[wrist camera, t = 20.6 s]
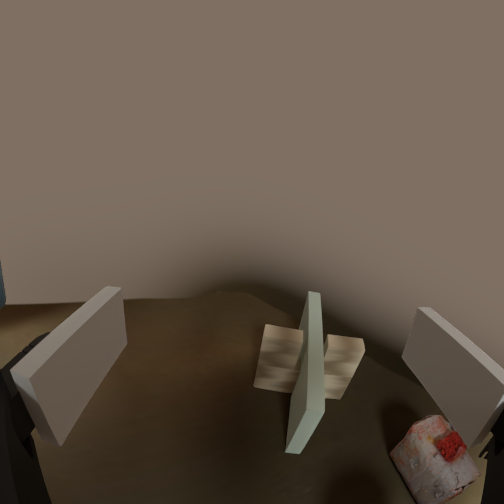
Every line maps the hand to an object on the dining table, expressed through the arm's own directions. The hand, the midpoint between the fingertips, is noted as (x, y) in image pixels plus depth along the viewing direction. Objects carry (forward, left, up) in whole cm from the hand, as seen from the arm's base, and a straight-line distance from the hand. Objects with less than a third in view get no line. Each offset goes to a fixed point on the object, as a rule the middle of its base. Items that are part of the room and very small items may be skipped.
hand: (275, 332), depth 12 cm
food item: (+25, +5, -29) cm, 39 cm away
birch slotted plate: (+6, +21, -28) cm, 36 cm away
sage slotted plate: (+6, +21, -28) cm, 36 cm away
